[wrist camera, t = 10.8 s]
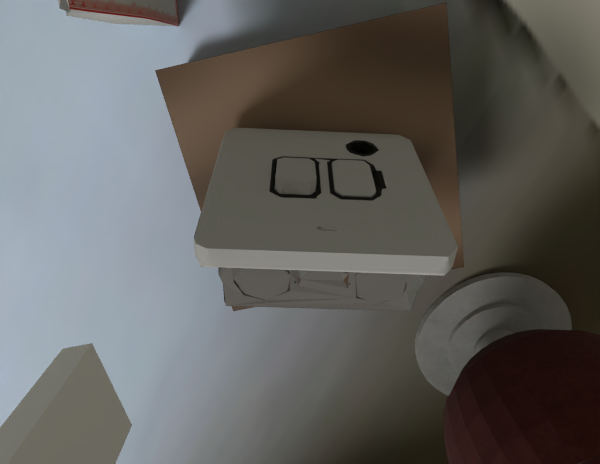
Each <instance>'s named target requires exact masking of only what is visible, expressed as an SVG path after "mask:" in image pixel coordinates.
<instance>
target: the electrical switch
mask: <svg viewBox="0 0 600 464" xmlns="http://www.w3.org/2000/svg"><path fill="white" fill-rule="evenodd" d="M194 245H195V255H196V258H197V260H198V261H199V263H200V265H201V267H219V276H220V278H221V280H222V282H223V288H224V301H225V303H226V306H252V307H286V308H321V309H355V310H390V311H411V309H412V307H413V304H414V301H415V298H416V294H417V291H418V289H419V288H420V286H421V285H422V284H423V282H424V280H425V277H426V275H445V274H446V273H447V272H448V271H449V270H450V269H451V268H452V266H453V263H454V260H455V256H456V253H457V249H458V245H457V243H456V241H455V238H454V236H453V234H452V232H451V230H450V227H449V225H448V223H447V221H446V218H445V216H444V214H443V212H442V209H441V207H440V205H439V203H438V200H437V198H436V196H435V194H434V191H433V189H432V187H431V185H430V182H429V180H428V178H427V176H426V174H425V171H424V169H423V167H422V165H421V162H420V160H419V158H418V156H417V153H416V151H415V149H414V147H413V144H412V142H411V140H409V139H407V138H405V137H403V136H400V135H394V134H372V133H349V132H326V131H303V130H280V129H257V128H233V129H230V130H228V131H226V132H225V134H224V137H223V140H222V144H221V147H220V150H219V154H218V157H217V161H216V164H215V167H214V171H213V174H212V177H211V181H210V184H209V188H208V191H207V194H206V198H205V201H204V205H203V208H202V211H201V215H200V218H199V222H198V225H197V228H196V232H195V235H194ZM239 269H240V270H239ZM285 270H287V271H285ZM356 273H358V274H356ZM348 274H349V279H348V286H346V284H345V283H344V281H343V280H344V279H345V278H346V277H347V275H348ZM355 274H356V275H355ZM298 278H300V279H301V281H300V283H299V284H298ZM289 285H290V288H289V289H288V287H289ZM239 287H240V289H241V290H242V291H241V290H240V289H239ZM263 299H265V300H263ZM388 300H389V301H388ZM385 301H387V302H386V303H383V302H385Z"/></svg>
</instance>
